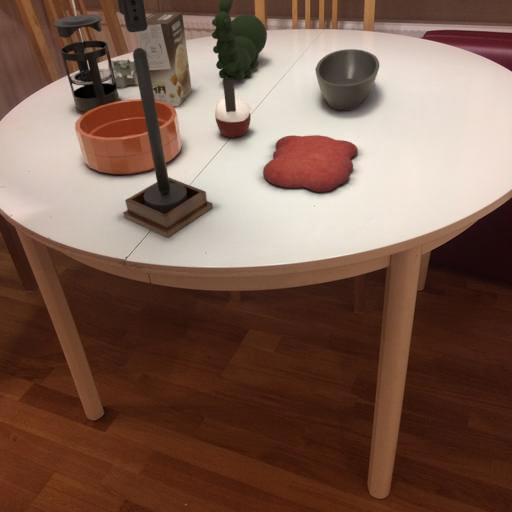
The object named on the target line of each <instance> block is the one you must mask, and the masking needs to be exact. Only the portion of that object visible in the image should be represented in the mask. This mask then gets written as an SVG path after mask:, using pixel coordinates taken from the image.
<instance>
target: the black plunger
mask: <svg viewBox="0 0 512 512" xmlns="http://www.w3.org/2000/svg"><path fill="white" fill-rule="evenodd" d="M132 59H133V61H134V64H135V69H136V74H137V79H138V85H137V86H138V90H139V95H140V99H141V100H142V105H143V111H144V116H145V121H146V126H147V132H148V137H149V142H150V147H151V153H152V158H153V163H154V168H155V169H154V173H155V178H156V182H157V184H158V185H155V186H153V187H151V188H149V189H148V190H147V191H146V192H145V194H144V201H145V206H147V207H149V208H152V209H154V210H156V211H159V212H161V213H163V214H166V213H168V212H169V211H171V210H173V209H174V208H176V207H177V206H179V205H180V204H182V203H184V202H185V201H187V200H188V197H187V190H186V188H185V187H184V186H182V185H180V184H177V183H169V179H168V177H169V173H168V169H167V167H168V166H167V163H166V162H165V156H164V150H163V145H162V139H161V133H160V127H159V122H158V116H157V110H156V105H155V99H154V93H153V87H152V82H151V76H150V70H149V65H148V59H147V54H146V51H145V50H144V49H142V48H141V47H137V48H135V49H133V52H132Z"/></svg>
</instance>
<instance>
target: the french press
mask: <svg viewBox="0 0 512 512" xmlns="http://www.w3.org/2000/svg"><path fill="white" fill-rule="evenodd" d="M71 3H72V7H73V10H74V15H72V16H67V17H63V18H59V19H57V20H55V21H54V22H53V27H55V28H56V29H57V33H58V36H59V37H60V38H63V39H67V38H71V36H72V35H74V33H75V32H77V31H79V36H80V40H78V41H77V40H76V41H73V42H72V43H69V44H66V45H65V46H62V47H61V48H60V53H61V57H62V60H63V64H64V69H65V72H66V76H67V79H68V83H69V87H70V90H71V94H72V98H73V102H74V105H75V107H74V109H75V111H76V113H78V114H81V115H83V114H85V113H86V112H88V111H89V110H92V109H94V108H97V107H99V106H102V105H105V104H109V103H113V102H117V101H122V100H121V99H120V95H119V91H118V87H117V86H116V81H115V77H114V72H113V68H112V63H111V61H112V59H111V54H110V50H109V44H108V43H107V42H106V41H104V40H84V38H83V36H84V35H83V33H82V28H91V29H92V30H94V31H96V32H99V33H100V32H102V31H103V29H102V24H101V22H102V20H103V18H102V16H100V15H97V14H79V15H78V12H77V7H76V3H75V0H71ZM88 48H89V49H91V48H98V49H97V50H93V51H88V52H87V49H88ZM71 52H74V53H71ZM104 56H106V58H107V64H108V63H109V67H110V70H109V69H107V68H99V67H100V66H99V63H98V58H102V57H104ZM67 61H69V62H77V67H78V70H79V71H78V72H76V73H74V74H72V75H71V74H70V70H69V67H68V63H67ZM110 79H111V80H112V83H110V82H107V81H109V80H110ZM73 85H76V86H80V87H78V88H76V89H74V86H73Z"/></svg>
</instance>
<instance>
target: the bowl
mask: <svg viewBox="0 0 512 512" xmlns="http://www.w3.org/2000/svg"><path fill="white" fill-rule="evenodd" d="M379 70H380V61H379V59H378V57H377V56H376V55H375V54H373V53H372V52H369V51H368V50H367V51H366V50H363V49H356V48H351V49H349V48H347V49H339V50H336V51H332V52H330V53H328V54H326V55H325V56H323V57H322V58H321V59H320V60H319V61H318V62H317V64H316V67H315V75H316V80H317V84H318V87H319V90H320V92H321V94H322V96H323V98H324V100H325V101H326V103H327V104H328V105H329V107H330V108H332V109H334V110H336V111H343V112H344V111H351V110H353V109H356V108H357V107H359V106H360V105H361V104H362V103H363V101H364V100H365V99H366V98H367V97H368V95H369V93H370V92H371V90H372V87H373V85H374V83H375V82H376V79H377V76H378V73H379Z"/></svg>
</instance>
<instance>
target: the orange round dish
mask: <svg viewBox="0 0 512 512" xmlns="http://www.w3.org/2000/svg"><path fill="white" fill-rule="evenodd" d="M155 105H156V110H157V116H158V122H159V127H160V133H161V139H162V145H163V150H164V156H165V162H166V164H167V163H169V162H170V161H171V160H173V159H174V158H175V157H176V156H177V155H178V154H179V153H180V151H181V149H182V146H183V145H182V137H181V132H180V131H181V130H180V125H179V124H180V123H179V118H178V113H177V110H176V108H175V106H171V105H170V104H168V103H165V102H162V101H158V100H155ZM74 130H75V133H76V136H77V141H78V145H79V147H80V152H81V154H82V159H83V162H84V163H85V164H86V165H87V166H88V168H90V169H93V170H94V171H97V172H101V173H105V174H107V175H108V174H109V175H134V174H140V173H145V172H148V171H151V170H155V168H154V163H153V158H152V153H151V147H150V142H149V137H148V132H147V126H146V121H145V116H144V111H143V105H142V100H141V98H140V99H139V98H137V99H135V98H134V99H125V100H124V99H123V100H121V101H117V102H113V103H109V104H105V105H102V106H99V107H97V108H94V109H92V110H89V111H88V112H86V113H85V114H81V115H80V116H79V117H78V119H76V121H75V122H74Z"/></svg>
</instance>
